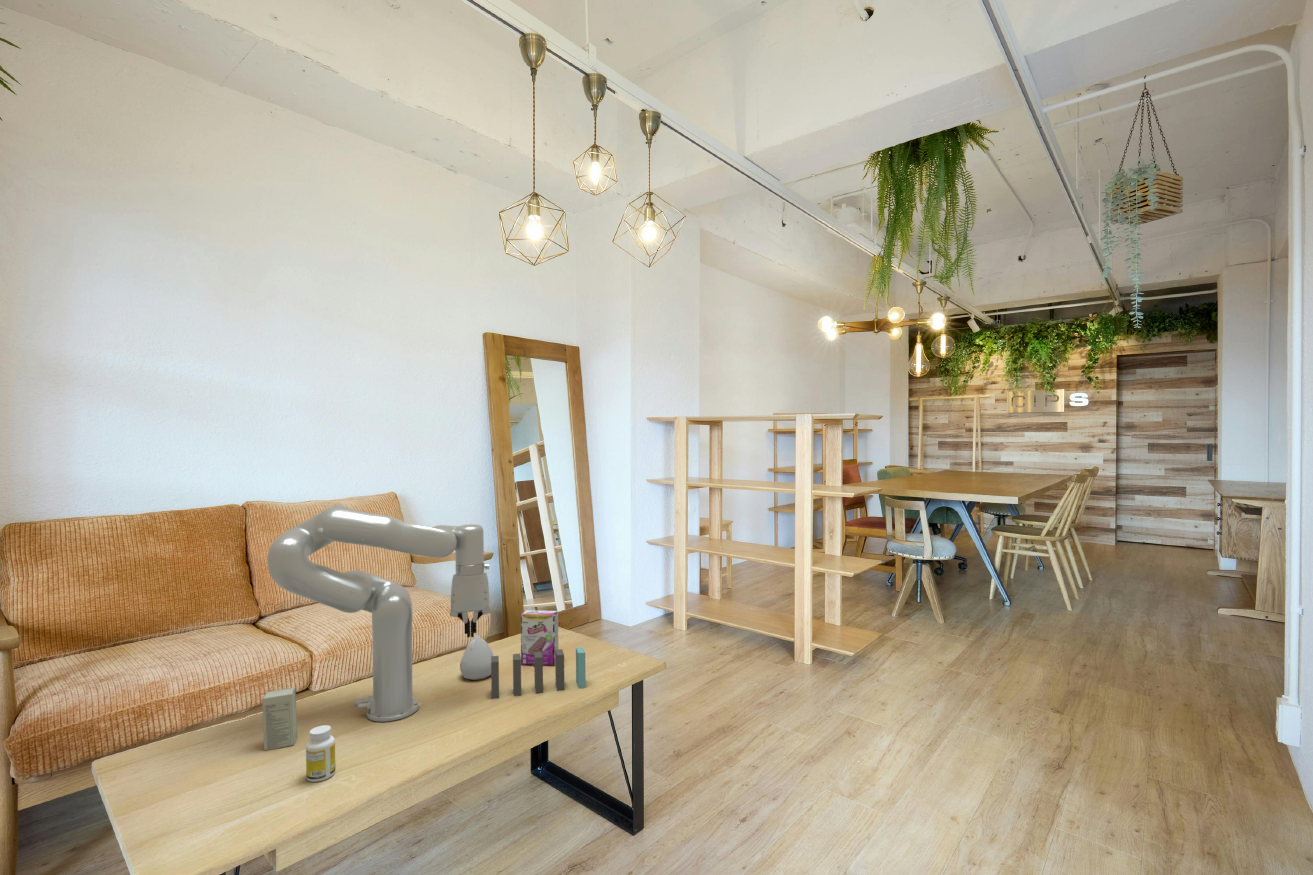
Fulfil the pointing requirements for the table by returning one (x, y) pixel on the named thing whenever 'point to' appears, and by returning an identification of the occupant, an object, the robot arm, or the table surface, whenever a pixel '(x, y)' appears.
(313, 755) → the supplement bottle
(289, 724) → the skincare box
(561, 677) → the domino
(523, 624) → the candy bar box
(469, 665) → the grey teardrop lump
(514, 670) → the domino
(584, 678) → the domino
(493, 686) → the domino
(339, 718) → the table surface
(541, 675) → the domino
